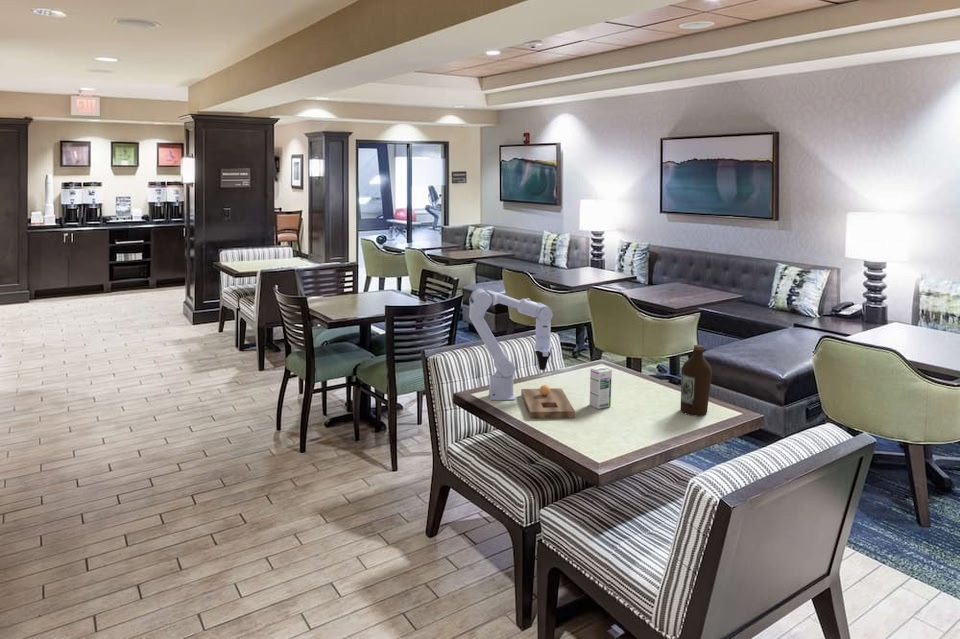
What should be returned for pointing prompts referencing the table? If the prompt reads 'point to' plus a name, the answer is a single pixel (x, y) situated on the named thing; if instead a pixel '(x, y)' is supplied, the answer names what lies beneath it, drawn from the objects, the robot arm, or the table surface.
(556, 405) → the brown wooden flat board
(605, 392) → the syrup box
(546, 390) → the ball
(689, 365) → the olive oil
